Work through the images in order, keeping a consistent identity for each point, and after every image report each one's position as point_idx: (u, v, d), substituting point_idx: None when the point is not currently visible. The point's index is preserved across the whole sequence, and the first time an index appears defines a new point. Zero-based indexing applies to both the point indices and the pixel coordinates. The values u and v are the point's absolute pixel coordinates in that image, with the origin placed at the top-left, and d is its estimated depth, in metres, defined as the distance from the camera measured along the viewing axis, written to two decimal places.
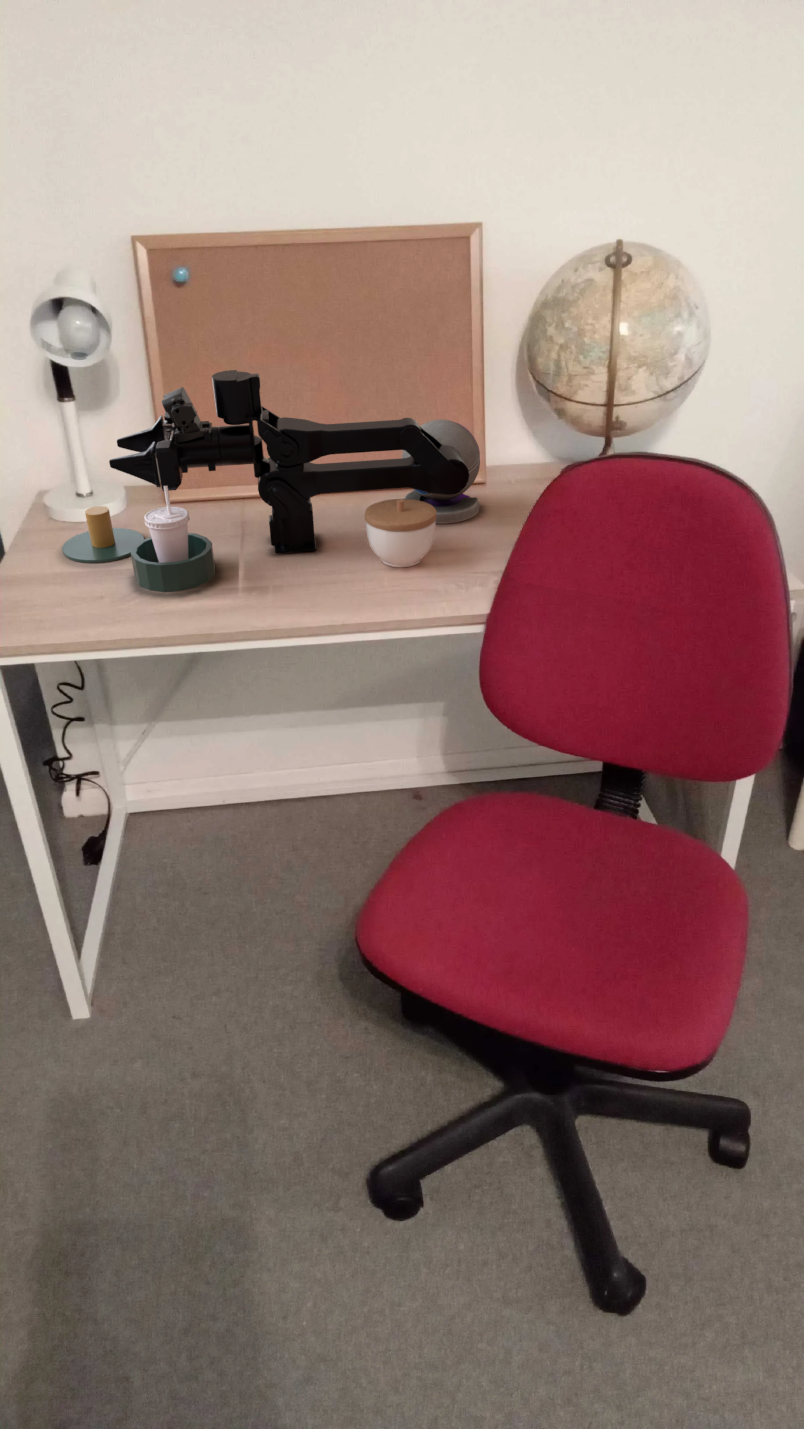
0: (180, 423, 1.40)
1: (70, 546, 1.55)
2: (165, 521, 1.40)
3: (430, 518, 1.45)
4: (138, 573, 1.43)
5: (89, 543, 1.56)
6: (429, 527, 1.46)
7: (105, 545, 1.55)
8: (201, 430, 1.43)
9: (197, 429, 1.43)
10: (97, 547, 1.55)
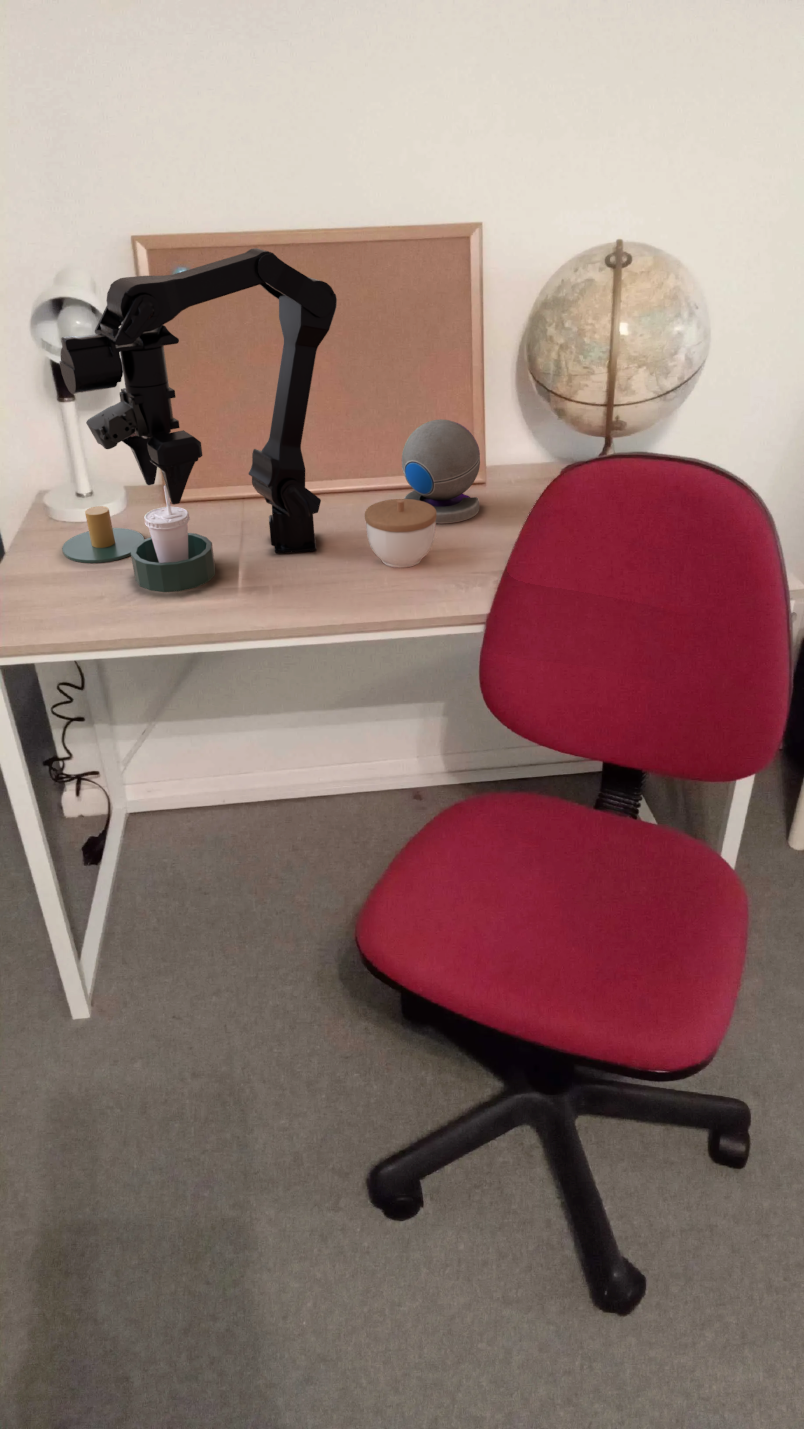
0: (128, 432, 1.29)
1: (70, 546, 1.55)
2: (165, 521, 1.40)
3: (430, 519, 1.45)
4: (138, 573, 1.43)
5: (89, 543, 1.56)
6: (429, 528, 1.46)
7: (105, 545, 1.55)
8: (132, 406, 1.30)
9: (132, 410, 1.31)
10: (97, 547, 1.55)
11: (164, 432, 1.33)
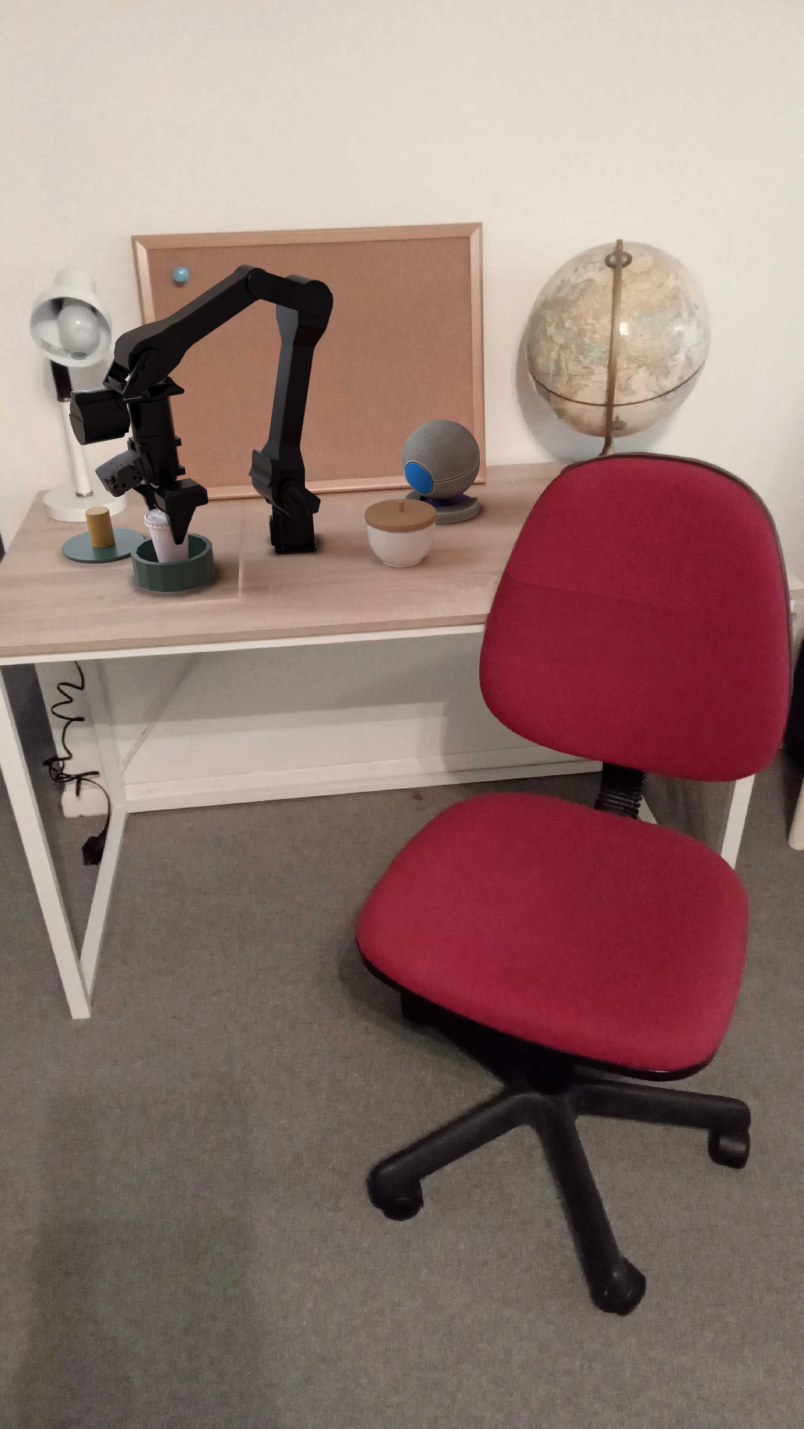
0: (136, 481, 1.33)
1: (70, 546, 1.55)
2: (165, 521, 1.40)
3: (430, 519, 1.45)
4: (138, 573, 1.43)
5: (89, 543, 1.56)
6: (429, 528, 1.46)
7: (105, 545, 1.55)
8: (139, 455, 1.34)
9: (139, 459, 1.34)
10: (97, 547, 1.55)
11: (171, 479, 1.37)
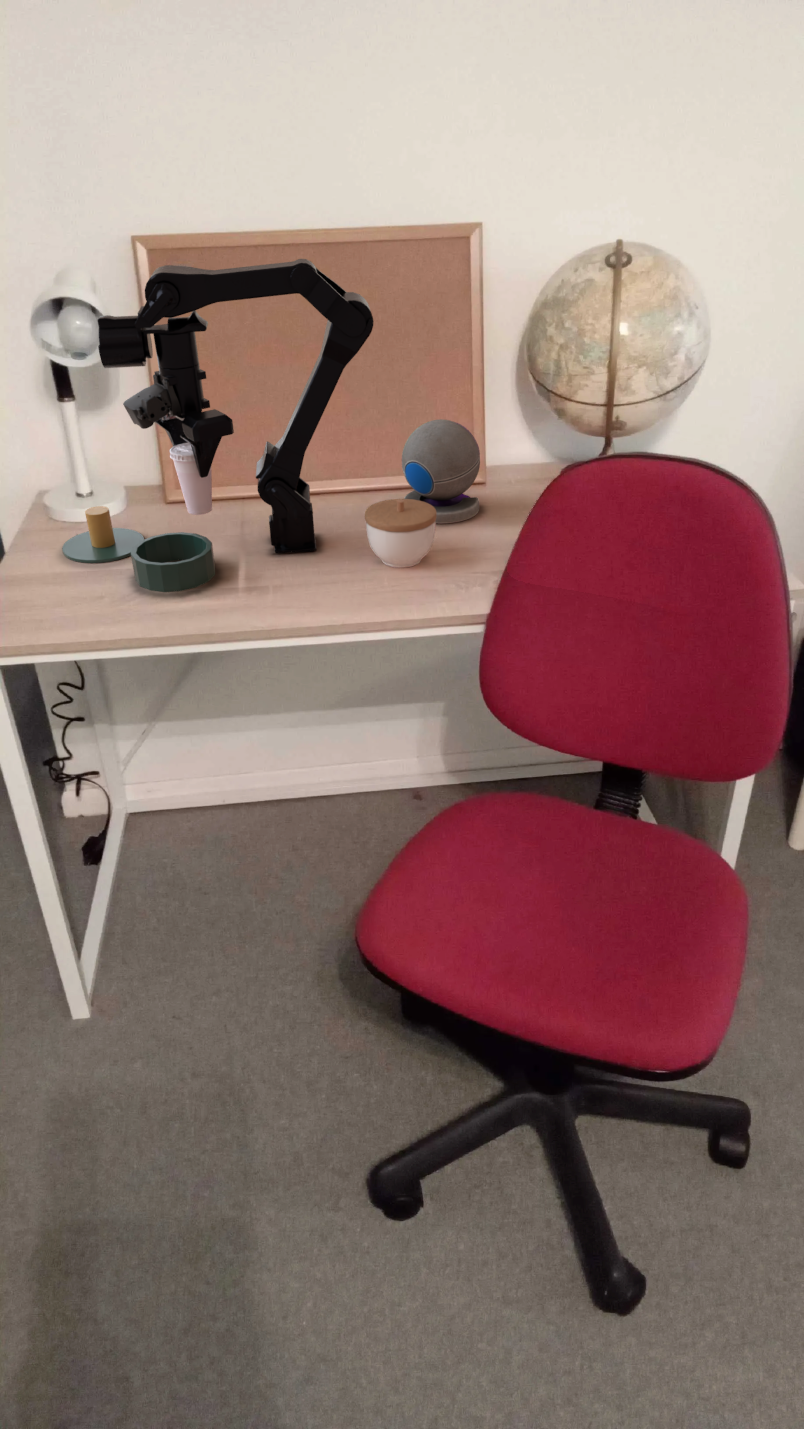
0: (164, 412, 1.38)
1: (70, 546, 1.55)
2: (190, 454, 1.45)
3: (430, 519, 1.45)
4: (138, 573, 1.43)
5: (89, 543, 1.56)
6: (429, 527, 1.46)
7: (105, 545, 1.55)
8: (166, 387, 1.39)
9: (166, 391, 1.39)
10: (97, 547, 1.55)
11: (196, 411, 1.42)
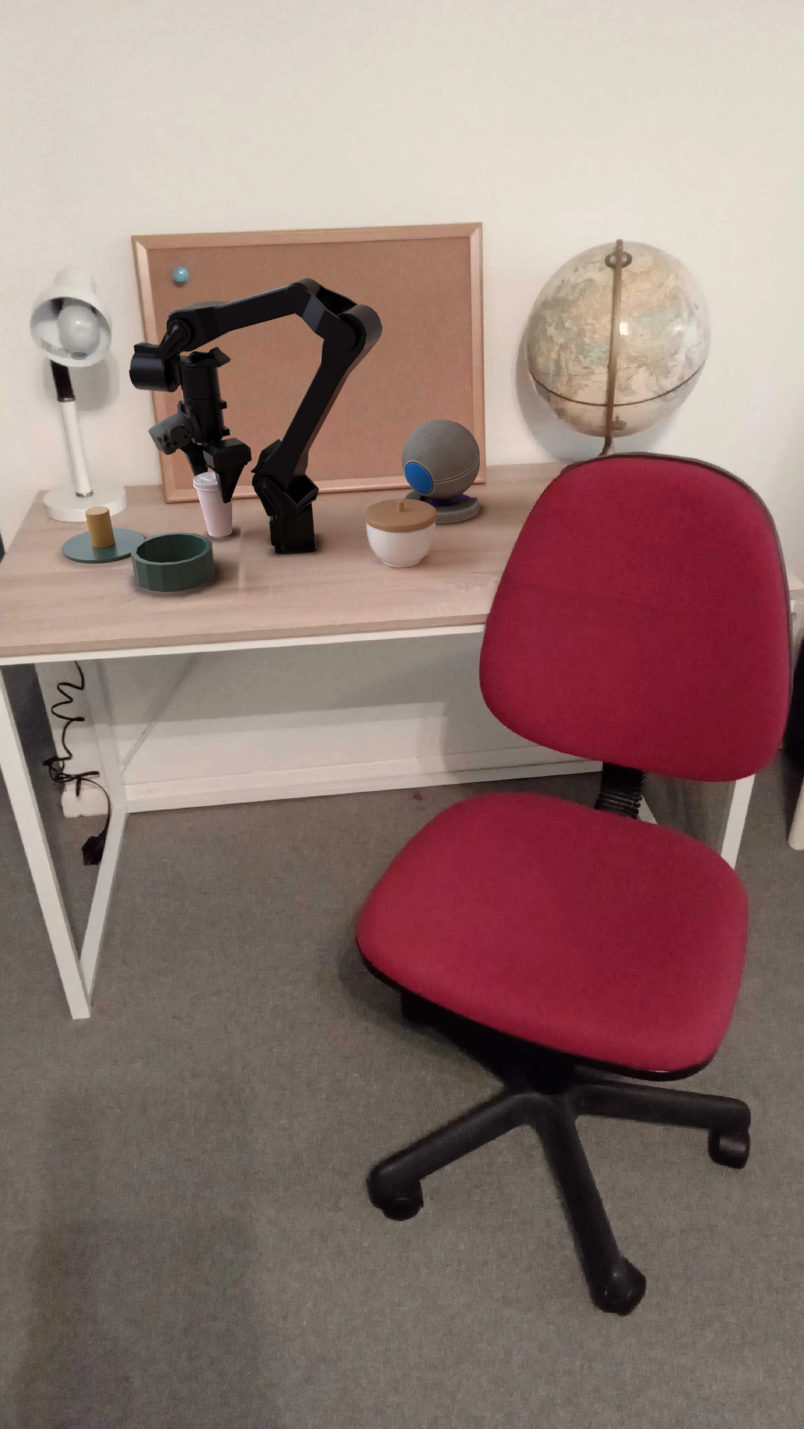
0: (186, 440, 1.46)
1: (70, 546, 1.55)
2: (212, 483, 1.53)
3: (430, 519, 1.45)
4: (138, 573, 1.43)
5: (89, 543, 1.56)
6: (429, 528, 1.46)
7: (105, 545, 1.55)
8: (189, 416, 1.47)
9: (189, 420, 1.47)
10: (97, 547, 1.55)
11: (217, 439, 1.50)
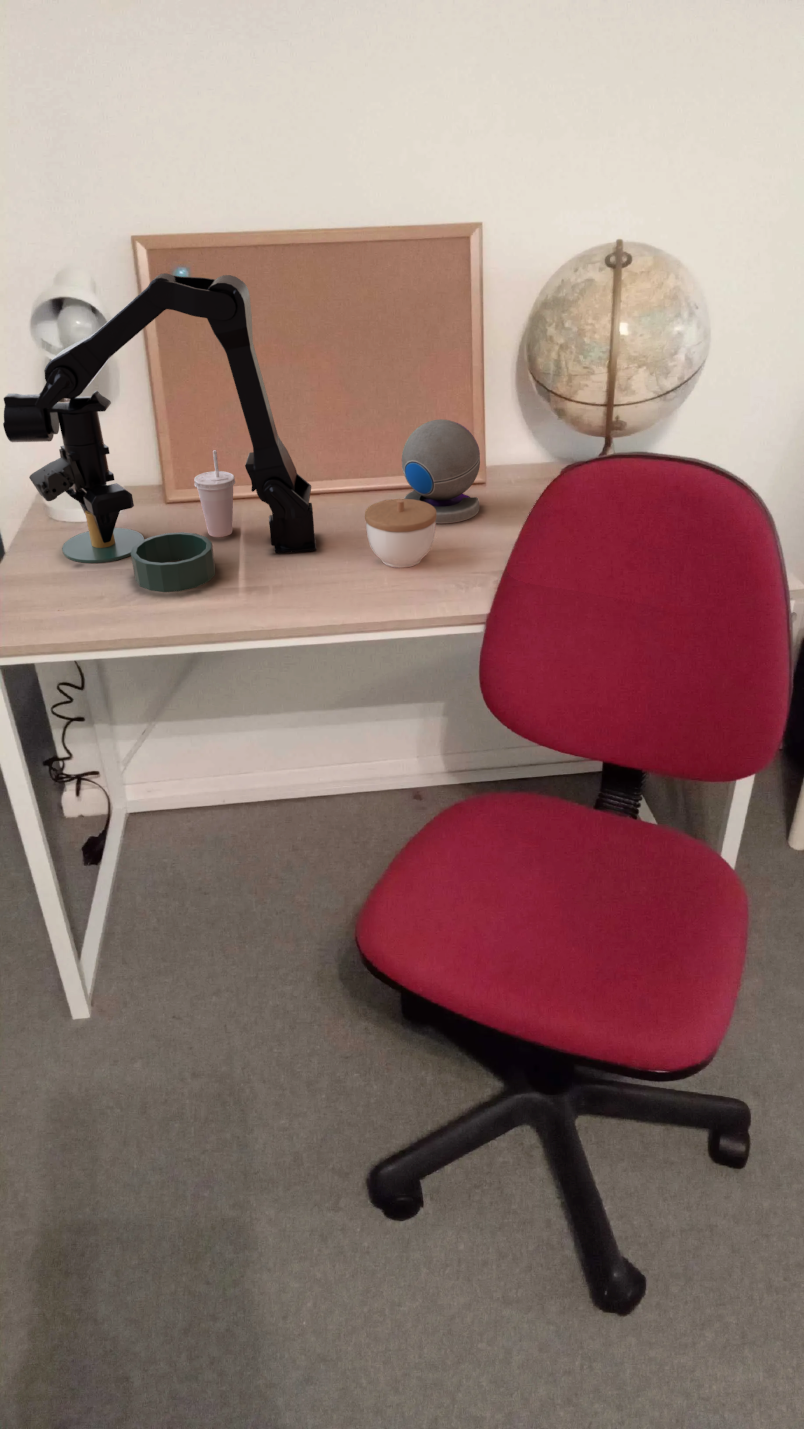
0: (66, 486, 1.44)
1: (70, 546, 1.55)
2: (213, 483, 1.53)
3: (430, 519, 1.45)
4: (138, 573, 1.43)
5: (89, 543, 1.56)
6: (429, 527, 1.46)
7: (105, 545, 1.55)
8: (69, 462, 1.45)
9: (69, 466, 1.46)
10: (97, 547, 1.55)
11: (100, 484, 1.48)
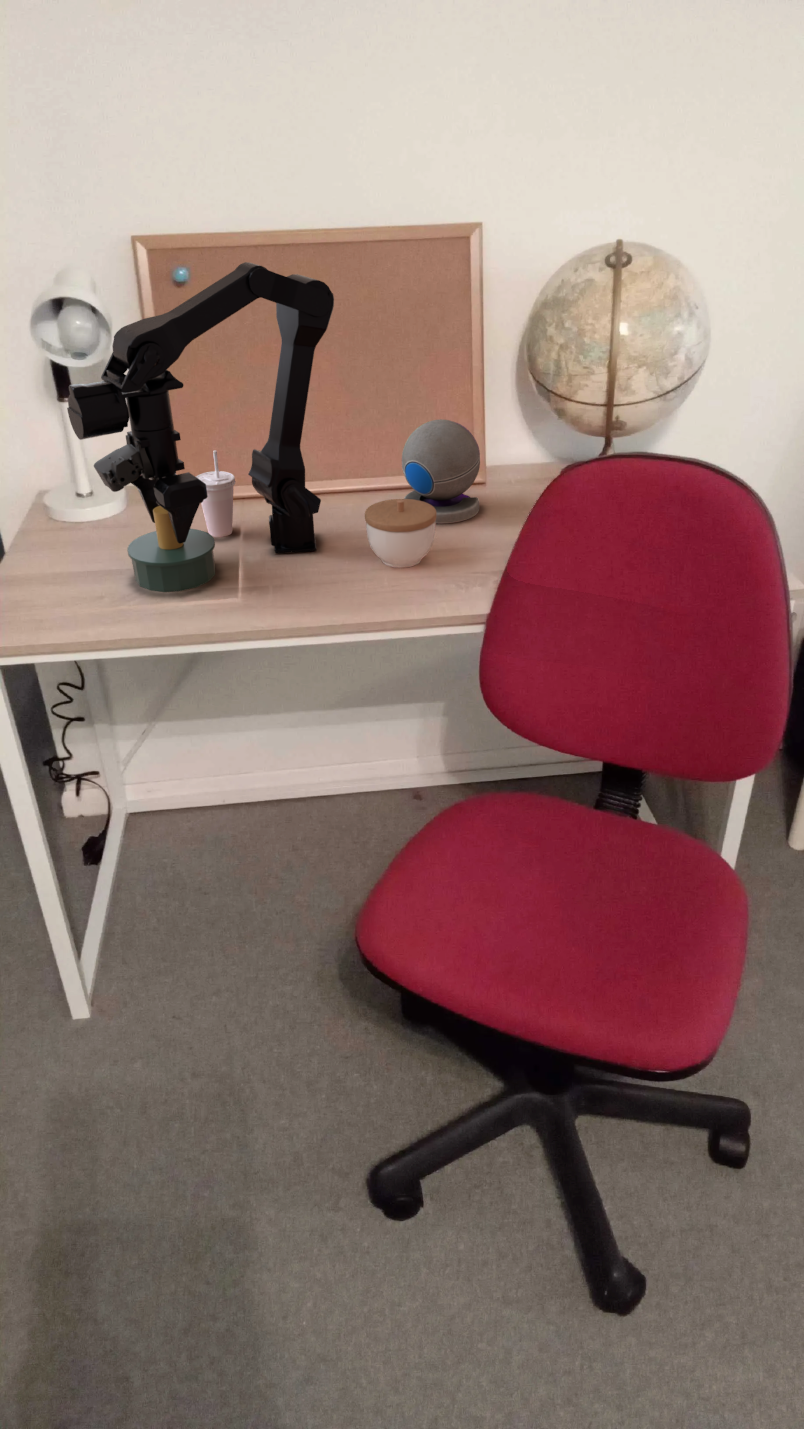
0: (134, 475, 1.32)
1: (136, 547, 1.44)
2: (212, 483, 1.53)
3: (430, 519, 1.45)
4: (138, 573, 1.43)
5: (156, 544, 1.45)
6: (429, 527, 1.46)
7: (174, 547, 1.43)
8: (138, 449, 1.33)
9: (138, 453, 1.34)
10: (165, 549, 1.43)
11: (170, 474, 1.36)
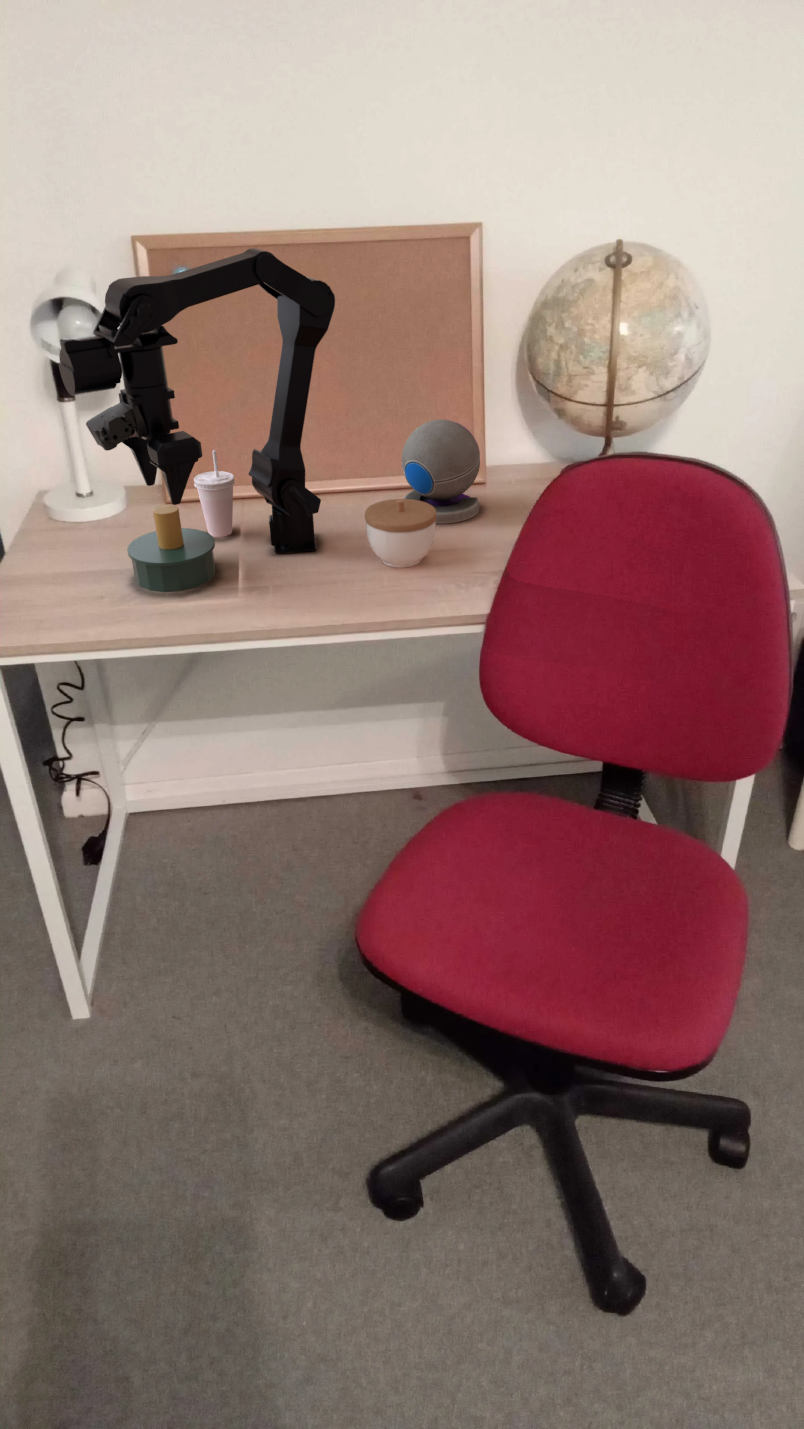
0: (127, 433, 1.29)
1: (136, 547, 1.44)
2: (211, 483, 1.54)
3: (430, 519, 1.45)
4: (138, 573, 1.43)
5: (156, 544, 1.45)
6: (429, 527, 1.46)
7: (174, 547, 1.43)
8: (131, 407, 1.30)
9: (131, 411, 1.31)
10: (165, 549, 1.43)
11: (164, 433, 1.33)
